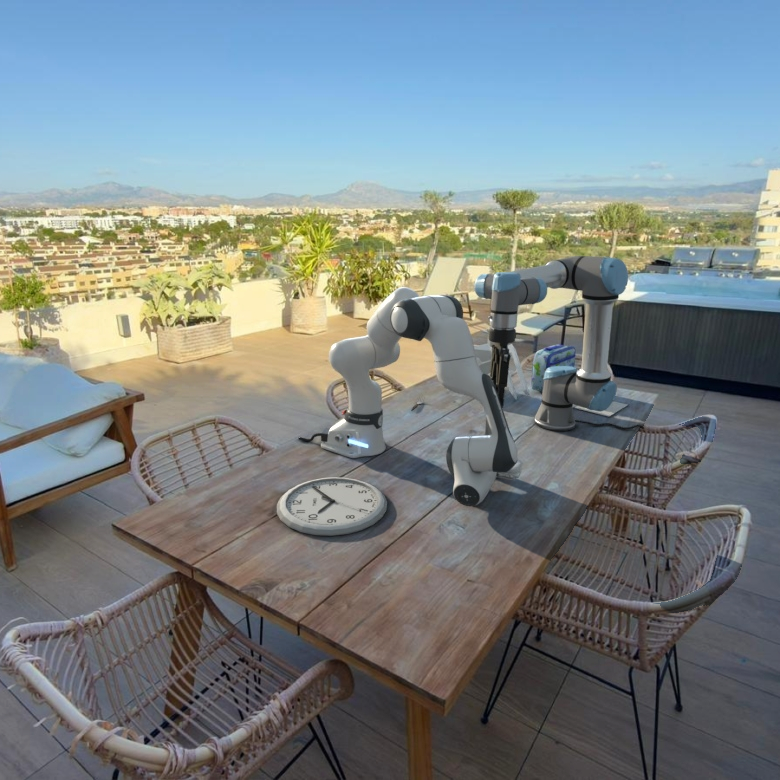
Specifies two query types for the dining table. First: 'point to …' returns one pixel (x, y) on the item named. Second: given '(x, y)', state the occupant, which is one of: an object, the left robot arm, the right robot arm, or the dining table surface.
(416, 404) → the fork
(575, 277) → the right robot arm
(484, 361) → the white plastic object
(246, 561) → the dining table surface
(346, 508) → the wall clock
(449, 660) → the dining table surface
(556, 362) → the lunch box
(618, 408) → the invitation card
